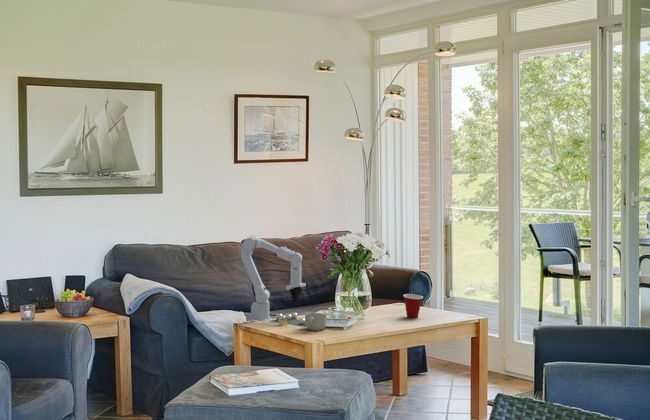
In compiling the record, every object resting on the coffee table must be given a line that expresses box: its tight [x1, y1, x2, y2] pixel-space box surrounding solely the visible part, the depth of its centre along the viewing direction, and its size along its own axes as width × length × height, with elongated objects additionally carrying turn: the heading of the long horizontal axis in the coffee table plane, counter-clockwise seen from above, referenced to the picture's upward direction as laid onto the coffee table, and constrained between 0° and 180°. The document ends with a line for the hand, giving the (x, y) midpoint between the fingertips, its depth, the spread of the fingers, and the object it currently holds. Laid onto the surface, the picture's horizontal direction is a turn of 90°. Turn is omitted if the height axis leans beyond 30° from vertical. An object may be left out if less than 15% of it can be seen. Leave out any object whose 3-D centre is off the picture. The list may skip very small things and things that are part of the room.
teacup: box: [304, 312, 328, 332], centre depth 422 cm, size 14×11×8 cm
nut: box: [278, 318, 288, 327], centre depth 432 cm, size 5×4×3 cm
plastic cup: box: [403, 293, 424, 319], centre depth 461 cm, size 11×11×12 cm
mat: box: [262, 318, 307, 330], centre depth 438 cm, size 24×20×1 cm
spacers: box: [275, 312, 305, 325], centre depth 442 cm, size 24×13×3 cm, turn 53°
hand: (295, 301), depth 446 cm, fingers closed
